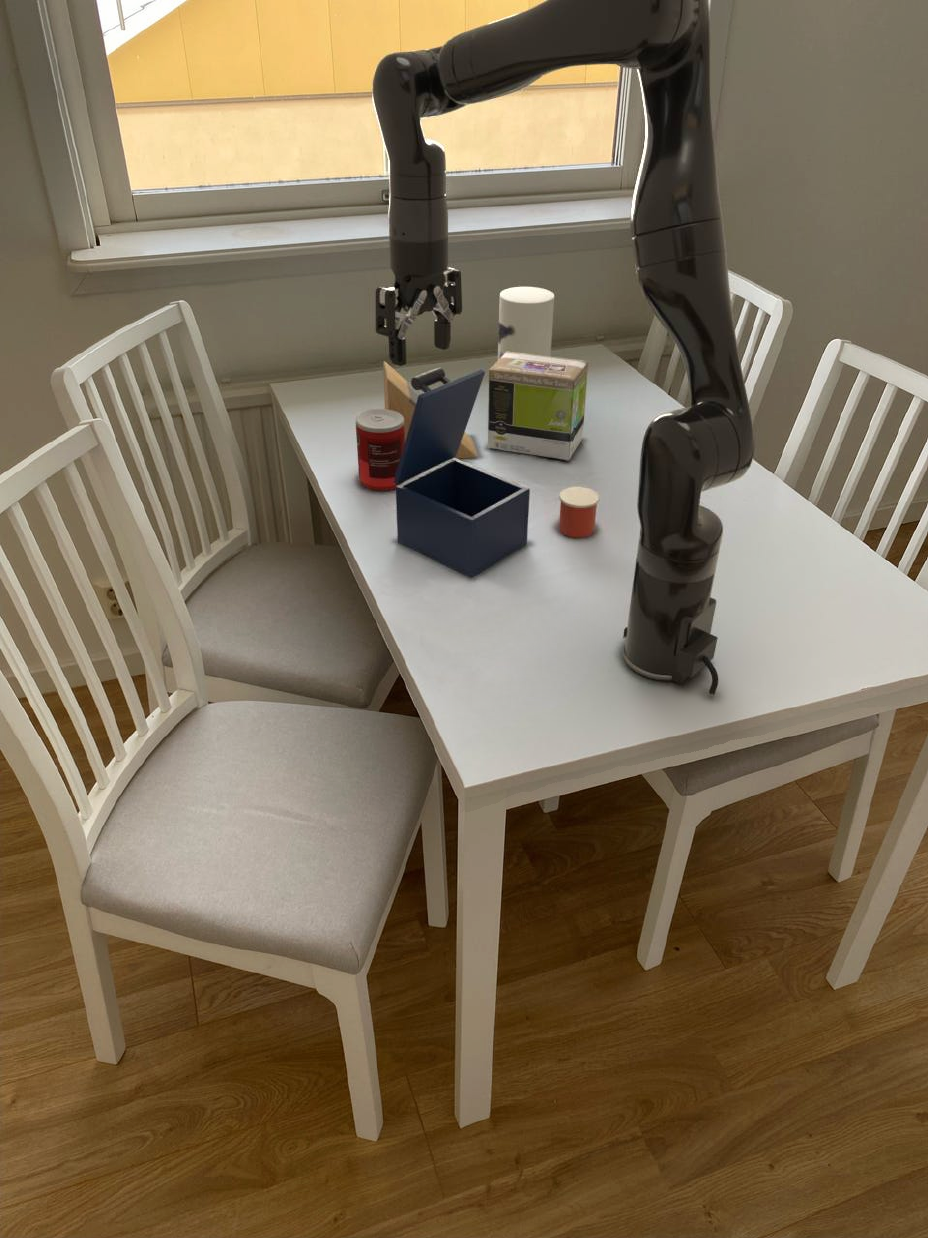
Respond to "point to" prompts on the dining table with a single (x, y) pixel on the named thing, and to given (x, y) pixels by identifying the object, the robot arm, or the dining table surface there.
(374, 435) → the canned food
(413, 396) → the sandwich container
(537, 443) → the tea box
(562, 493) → the plastic tub
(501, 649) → the dining table surface
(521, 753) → the dining table surface
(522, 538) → the navy blue open box
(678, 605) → the robot arm
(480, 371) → the cool box lid
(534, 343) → the container
